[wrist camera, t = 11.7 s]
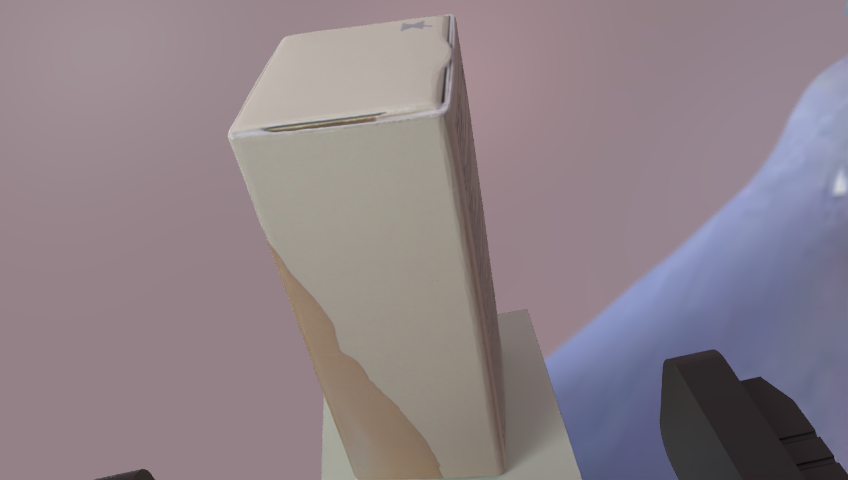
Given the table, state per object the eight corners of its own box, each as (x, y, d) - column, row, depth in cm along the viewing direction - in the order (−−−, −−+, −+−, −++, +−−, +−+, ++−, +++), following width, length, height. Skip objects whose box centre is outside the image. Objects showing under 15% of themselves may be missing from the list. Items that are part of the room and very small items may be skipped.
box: (375, 353, 23) (283, 28, 17) (505, 344, 23) (459, 3, 16) (351, 491, 19) (216, 129, 13) (509, 486, 19) (450, 100, 12)
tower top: (360, 625, 21) (319, 534, 18) (357, 438, 27) (325, 346, 24) (589, 584, 21) (584, 485, 18) (537, 405, 27) (527, 308, 24)
